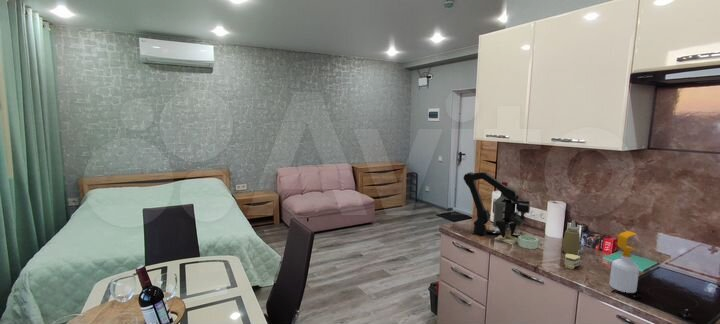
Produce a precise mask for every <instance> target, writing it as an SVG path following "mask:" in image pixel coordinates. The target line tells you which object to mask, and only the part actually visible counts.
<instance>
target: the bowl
mask: <svg viewBox="0 0 720 324" xmlns="http://www.w3.org/2000/svg"><path fill="white" fill-rule="evenodd" d="M517 239H518V242H517V245H518V246H519V247H521V248H523V249H528V250H536V249H537V248H539V241H540V240H539V239H538V237H535V236H532V235H527V234H526V235H525V234H521V235H518V236H517Z"/></svg>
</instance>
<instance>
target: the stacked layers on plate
mask: <svg viewBox="0 0 720 324" xmlns="http://www.w3.org/2000/svg"><path fill="white" fill-rule="evenodd" d="M580 258H581V256H580V255H578V254H576V255H573V254H567V253H565V258H564V268H565V269H566V268H567V269H570V270H574V269H575V267H577V266H579V265H580V262H579V261H581V259H580Z"/></svg>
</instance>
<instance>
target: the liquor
mask: <svg viewBox="0 0 720 324" xmlns="http://www.w3.org/2000/svg"><path fill="white" fill-rule="evenodd" d="M501 183H502V184H503V185H506V186H508V182H507V181H501ZM504 198H506V197H505V196H504V195H503V194H502V193H501V192H500V196H499V197H498V198H497V199H496V200H495V201H494V203H493V205H494V207H493V220H492V222H493V224H492V225H493V226H494V227H496V228H498V227H497V226H496V225H495V223H496V221H498V220H502V218H504V213H503V211H504V210H505V202H501V201H502V200H503V199H504ZM506 199H507V198H506ZM508 200H509V199H508ZM503 221H504V220H503ZM508 227H509V228H510V226H508Z"/></svg>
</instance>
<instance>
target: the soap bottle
mask: <svg viewBox="0 0 720 324" xmlns="http://www.w3.org/2000/svg"><path fill="white" fill-rule="evenodd" d="M636 235H637V233H636V232H633V231H630V230H627V231H623V232H621V233H619V234H618V236H617V245H616V246H617V247H618V248H620V249H622V251H623V252H622V253H621V255H620V258H617V259H615V260H613V261H612V262H611V266H610V274H609V275H610V276H609V286H610V288H612V289H614V290H615V291H619V292H621V293H625V292H626V293H625V294H634V293H637V290H638V289H637V288H638V282H639V275H640V274H639V273H640V268H639V266H638V264H636V263H635V262H634V261H632V258H633V257H632V254H630V253H631V252H632V251H635V252H636V248H634V247H631V246H629V245H628V240H629V238H632V237H634V236H636Z"/></svg>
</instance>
